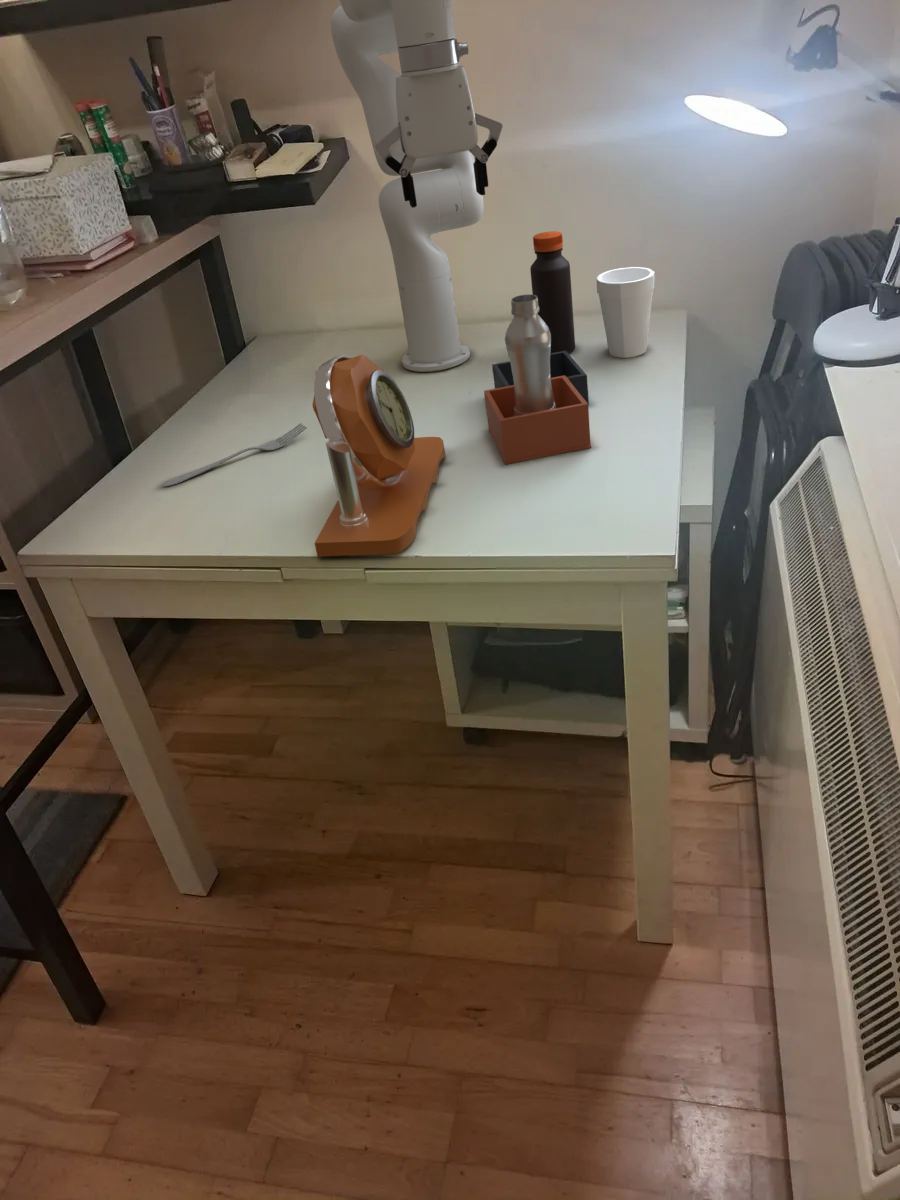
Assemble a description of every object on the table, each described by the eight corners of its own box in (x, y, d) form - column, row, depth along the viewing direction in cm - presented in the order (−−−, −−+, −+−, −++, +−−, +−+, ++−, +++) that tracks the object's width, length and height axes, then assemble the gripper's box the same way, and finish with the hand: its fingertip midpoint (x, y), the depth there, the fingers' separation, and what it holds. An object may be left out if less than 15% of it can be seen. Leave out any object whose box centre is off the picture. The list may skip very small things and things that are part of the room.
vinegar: (535, 358, 166) (524, 241, 155) (540, 345, 172) (530, 231, 161) (573, 356, 165) (565, 238, 154) (577, 343, 170) (570, 228, 159)
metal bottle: (530, 449, 133) (516, 309, 123) (506, 435, 139) (491, 300, 128) (568, 435, 135) (558, 297, 125) (543, 422, 141) (531, 288, 130)
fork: (160, 483, 143) (156, 472, 142) (302, 432, 152) (300, 422, 152) (166, 489, 141) (163, 479, 140) (310, 437, 150) (308, 427, 149)
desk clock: (314, 559, 117) (276, 407, 106) (370, 455, 141) (344, 322, 130) (409, 556, 114) (380, 400, 103) (450, 450, 138) (430, 315, 127)
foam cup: (653, 339, 166) (652, 264, 159) (658, 357, 158) (656, 279, 151) (599, 345, 168) (595, 271, 160) (601, 363, 160) (597, 286, 153)
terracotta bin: (488, 431, 142) (483, 390, 139) (568, 416, 143) (565, 375, 139) (505, 464, 132) (500, 421, 128) (590, 447, 133) (588, 404, 129)
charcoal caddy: (495, 393, 155) (491, 364, 152) (568, 379, 156) (566, 350, 153) (510, 420, 145) (507, 389, 142) (588, 405, 145) (586, 374, 143)
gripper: (488, 47, 125) (502, 184, 134) (360, 69, 124) (383, 206, 133) (499, 49, 118) (513, 193, 128) (365, 72, 117) (388, 215, 127)
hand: (447, 199), depth 130 cm, fingers open, 9 cm apart
